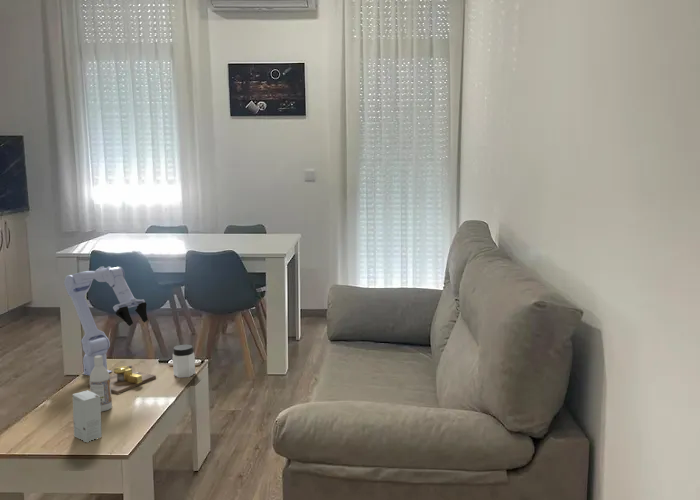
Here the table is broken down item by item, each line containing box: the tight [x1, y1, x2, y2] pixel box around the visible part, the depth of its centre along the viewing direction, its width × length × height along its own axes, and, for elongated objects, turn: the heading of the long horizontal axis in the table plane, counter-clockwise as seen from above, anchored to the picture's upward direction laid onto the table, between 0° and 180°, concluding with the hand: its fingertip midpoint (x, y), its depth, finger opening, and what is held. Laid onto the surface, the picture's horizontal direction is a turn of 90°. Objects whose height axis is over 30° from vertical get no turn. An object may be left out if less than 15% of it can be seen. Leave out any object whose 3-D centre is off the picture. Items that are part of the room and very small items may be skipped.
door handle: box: [113, 365, 142, 384], centre depth 267 cm, size 13×6×5 cm, turn 61°
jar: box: [172, 343, 196, 379], centre depth 277 cm, size 9×8×12 cm
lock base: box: [87, 364, 157, 395], centre depth 269 cm, size 17×20×4 cm
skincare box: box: [72, 389, 103, 443], centre depth 217 cm, size 8×6×15 cm
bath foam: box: [89, 355, 113, 413], centre depth 241 cm, size 7×7×20 cm
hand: (138, 323), depth 260 cm, fingers open, 7 cm apart
